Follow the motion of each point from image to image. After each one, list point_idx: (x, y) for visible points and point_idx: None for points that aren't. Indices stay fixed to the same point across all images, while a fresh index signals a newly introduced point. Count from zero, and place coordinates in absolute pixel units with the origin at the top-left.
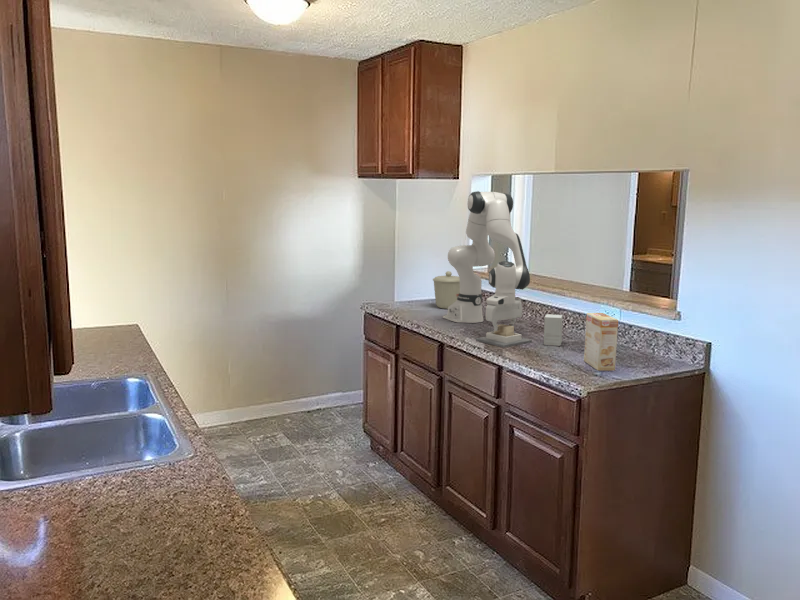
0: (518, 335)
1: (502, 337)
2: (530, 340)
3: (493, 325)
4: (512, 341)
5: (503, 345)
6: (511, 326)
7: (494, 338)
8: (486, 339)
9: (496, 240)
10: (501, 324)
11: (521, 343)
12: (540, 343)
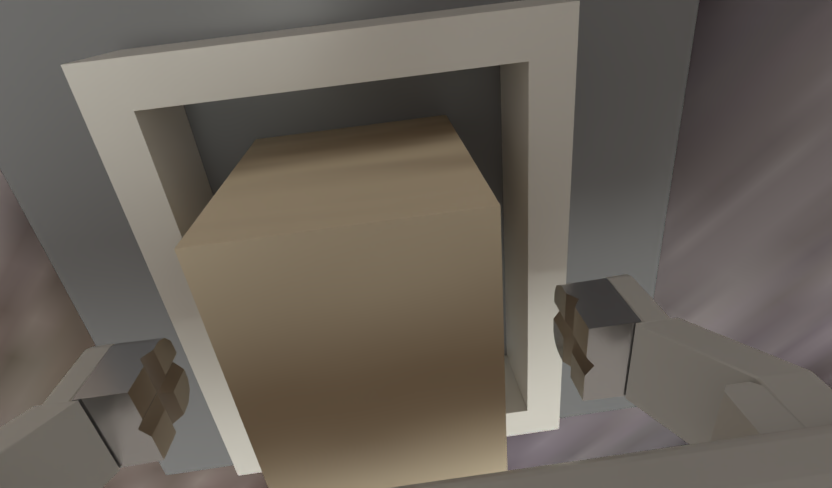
0: None
1: (220, 417)
2: (611, 407)
3: (3, 434)
4: None
5: (166, 469)
6: (470, 475)
7: None
8: (76, 146)
9: None
10: (427, 246)
11: None
12: (646, 445)
